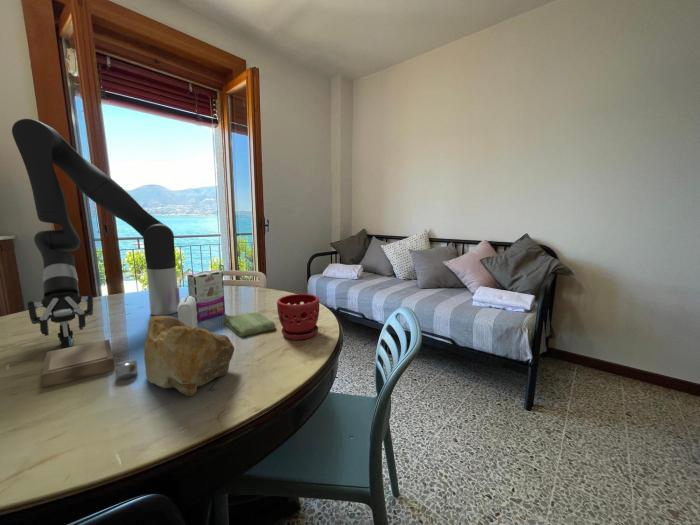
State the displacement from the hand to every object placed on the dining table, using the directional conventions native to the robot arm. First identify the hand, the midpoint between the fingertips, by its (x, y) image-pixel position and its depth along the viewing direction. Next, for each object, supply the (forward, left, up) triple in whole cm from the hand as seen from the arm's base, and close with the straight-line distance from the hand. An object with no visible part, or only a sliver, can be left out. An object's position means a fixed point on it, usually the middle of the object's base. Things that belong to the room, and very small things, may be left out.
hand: (64, 331), depth 83 cm
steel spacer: (-11, +29, -4) cm, 32 cm away
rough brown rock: (-23, +40, -5) cm, 47 cm away
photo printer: (-28, +13, -5) cm, 31 cm away
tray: (-3, +17, -4) cm, 18 cm away
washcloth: (-46, +17, -5) cm, 49 cm away
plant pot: (-55, +33, -5) cm, 64 cm away
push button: (0, -2, -5) cm, 5 cm away
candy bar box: (-38, -2, -5) cm, 38 cm away
